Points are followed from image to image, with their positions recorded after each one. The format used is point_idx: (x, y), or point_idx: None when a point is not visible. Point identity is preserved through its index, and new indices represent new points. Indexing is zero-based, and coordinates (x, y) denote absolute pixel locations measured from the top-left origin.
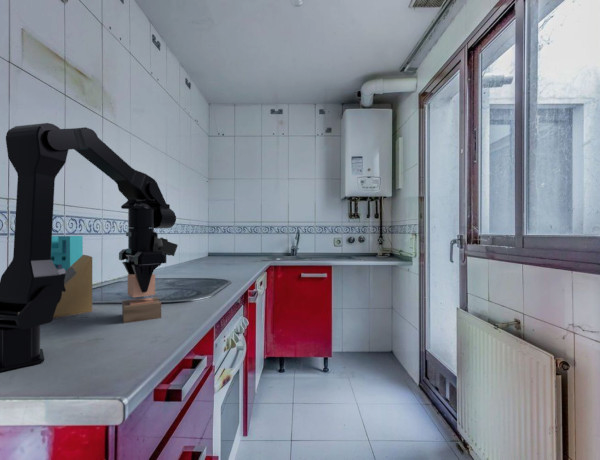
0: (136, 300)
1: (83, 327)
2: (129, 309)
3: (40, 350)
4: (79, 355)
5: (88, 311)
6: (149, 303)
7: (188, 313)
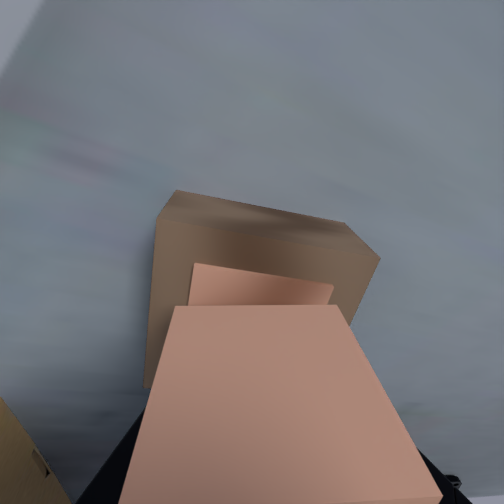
0: None
1: None
2: None
3: None
4: (478, 440)
5: (4, 407)
6: None
7: (384, 57)
